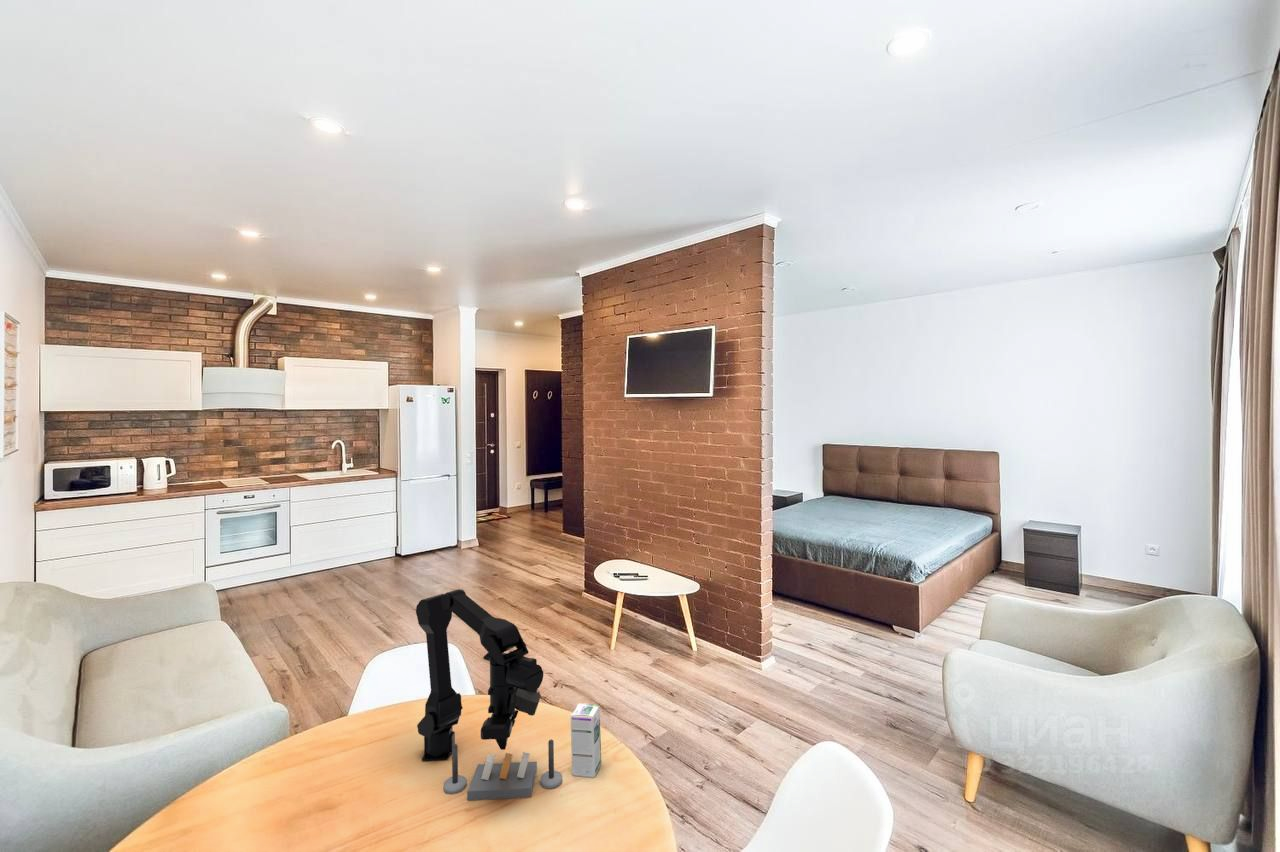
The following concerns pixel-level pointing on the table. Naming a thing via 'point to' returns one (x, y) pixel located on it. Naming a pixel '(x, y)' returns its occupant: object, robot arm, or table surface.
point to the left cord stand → (455, 776)
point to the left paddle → (488, 767)
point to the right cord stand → (551, 771)
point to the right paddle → (523, 765)
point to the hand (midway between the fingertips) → (503, 748)
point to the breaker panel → (502, 783)
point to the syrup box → (585, 740)
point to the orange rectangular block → (505, 766)
